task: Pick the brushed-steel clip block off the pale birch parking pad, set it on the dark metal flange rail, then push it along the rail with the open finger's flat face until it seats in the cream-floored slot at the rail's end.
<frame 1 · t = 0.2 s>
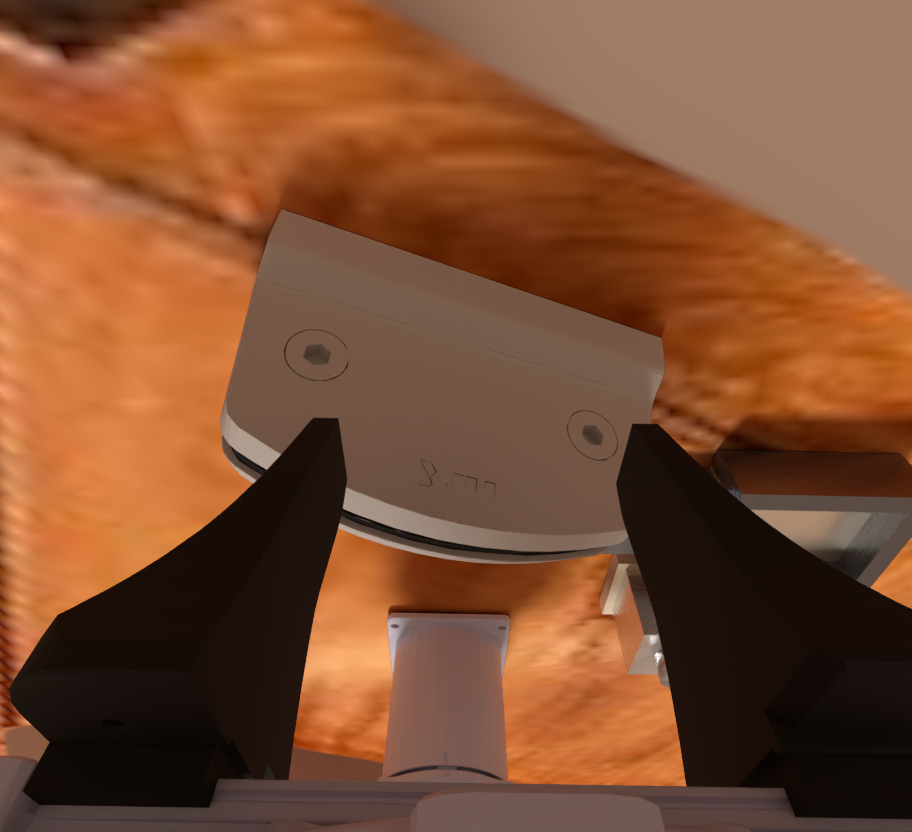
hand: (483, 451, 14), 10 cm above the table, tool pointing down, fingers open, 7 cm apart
clip block: (652, 590, 32), point 1 cm above the table, touching parking pad
flange rail: (676, 502, 29), on the table
parking pad: (647, 576, 33), on the table
grey rounded housing: (453, 353, 24), on the table
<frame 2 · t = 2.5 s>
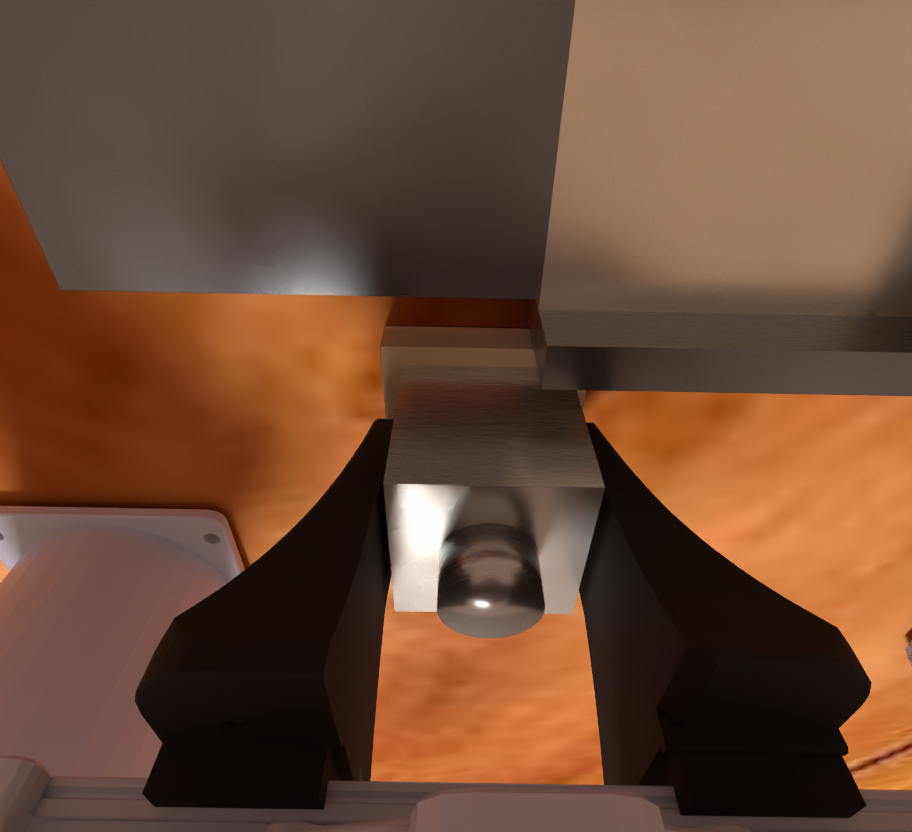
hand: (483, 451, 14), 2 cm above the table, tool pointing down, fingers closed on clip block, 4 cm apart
clip block: (482, 431, 14), point 1 cm above the table, touching gripper, parking pad
flange rail: (495, 151, 11), on the table
parking pad: (481, 408, 15), on the table
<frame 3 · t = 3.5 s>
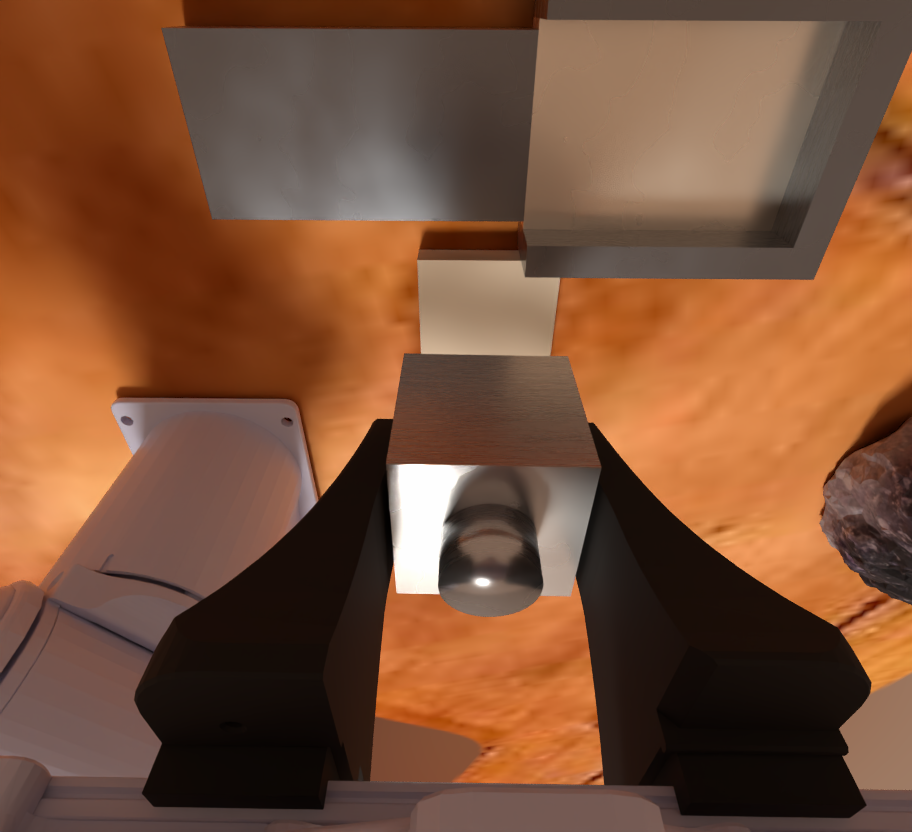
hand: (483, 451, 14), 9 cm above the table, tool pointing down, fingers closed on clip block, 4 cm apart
clip block: (482, 419, 14), point 8 cm above the table, touching gripper
flange rail: (493, 125, 17), on the table
parking pad: (486, 313, 21), on the table
when the fingers open (3 cm above the table, at t = 4.9 s): clip block stays where it is, resting on flange rail.
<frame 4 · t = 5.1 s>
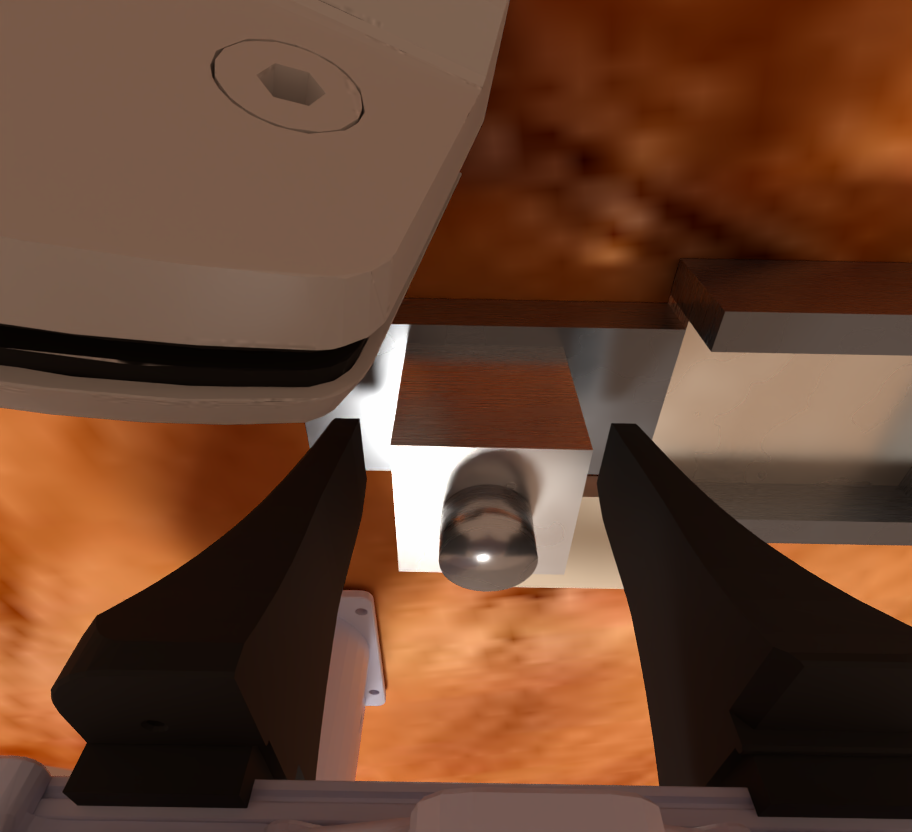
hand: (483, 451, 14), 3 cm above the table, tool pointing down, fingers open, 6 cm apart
clip block: (481, 407, 15), point 1 cm above the table, touching flange rail
flange rail: (613, 379, 16), on the table
parking pad: (579, 524, 20), on the table
grey rounded housing: (87, 9, 11), on the table
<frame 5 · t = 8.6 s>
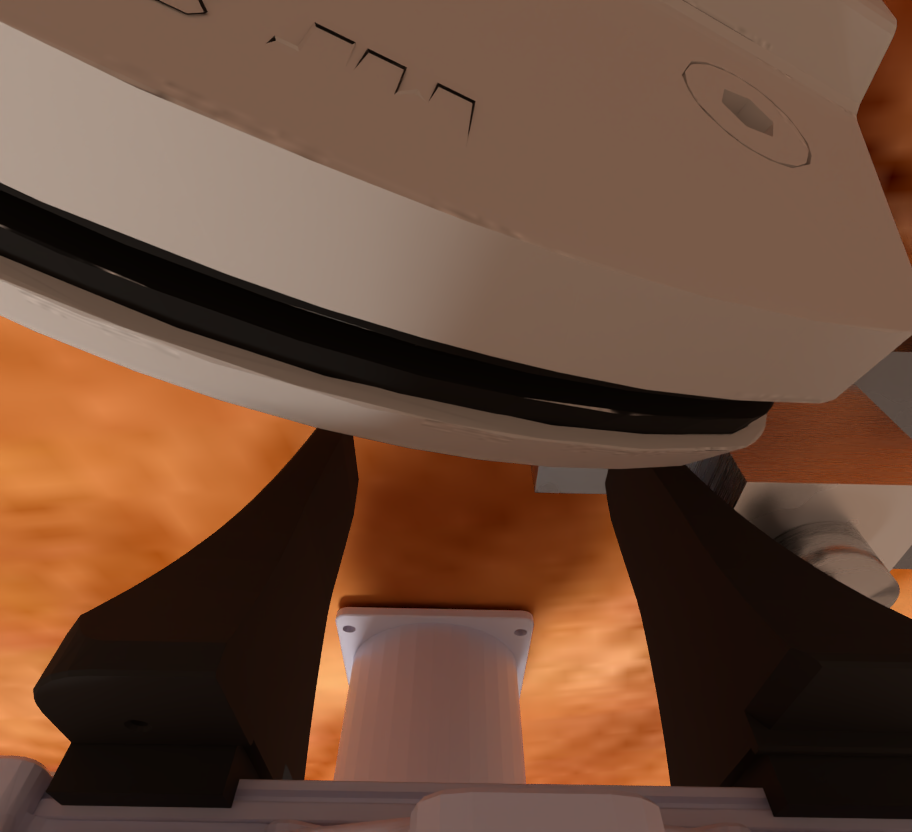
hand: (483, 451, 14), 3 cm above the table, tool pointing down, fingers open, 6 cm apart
clip block: (731, 431, 14), point 2 cm above the table, touching flange rail, gripper
flange rail: (849, 400, 16), on the table
grey rounded housing: (393, 15, 11), on the table
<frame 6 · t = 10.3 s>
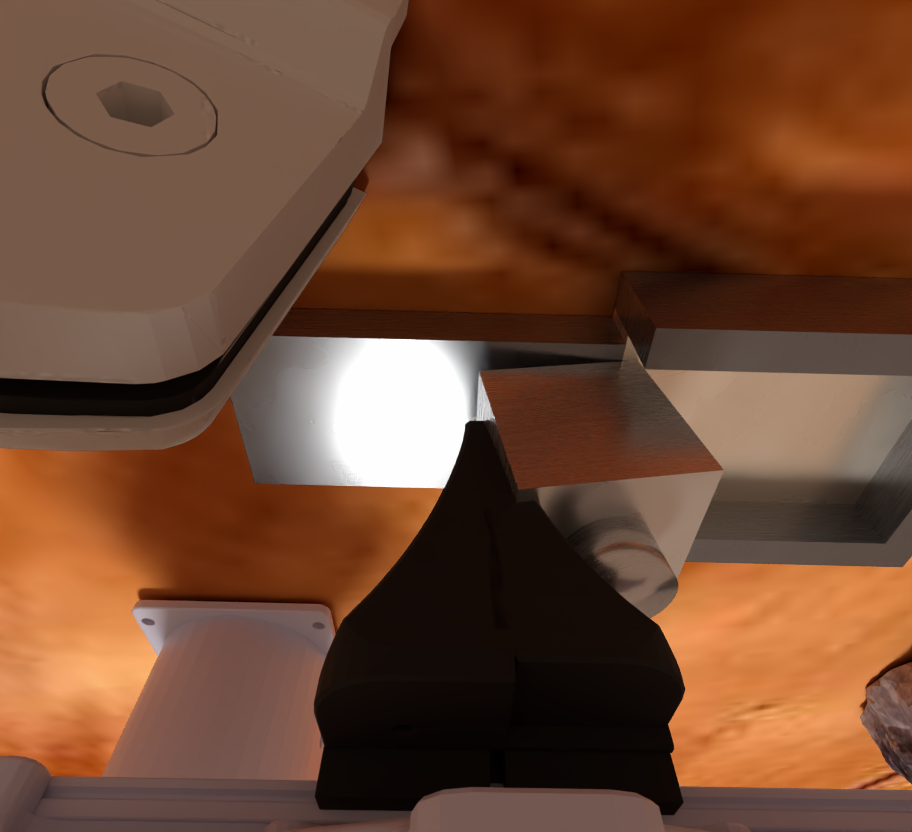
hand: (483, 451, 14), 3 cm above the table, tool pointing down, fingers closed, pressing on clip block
clip block: (549, 429, 14), point 2 cm above the table, tilted 9°, touching flange rail, gripper
flange rail: (561, 393, 16), on the table
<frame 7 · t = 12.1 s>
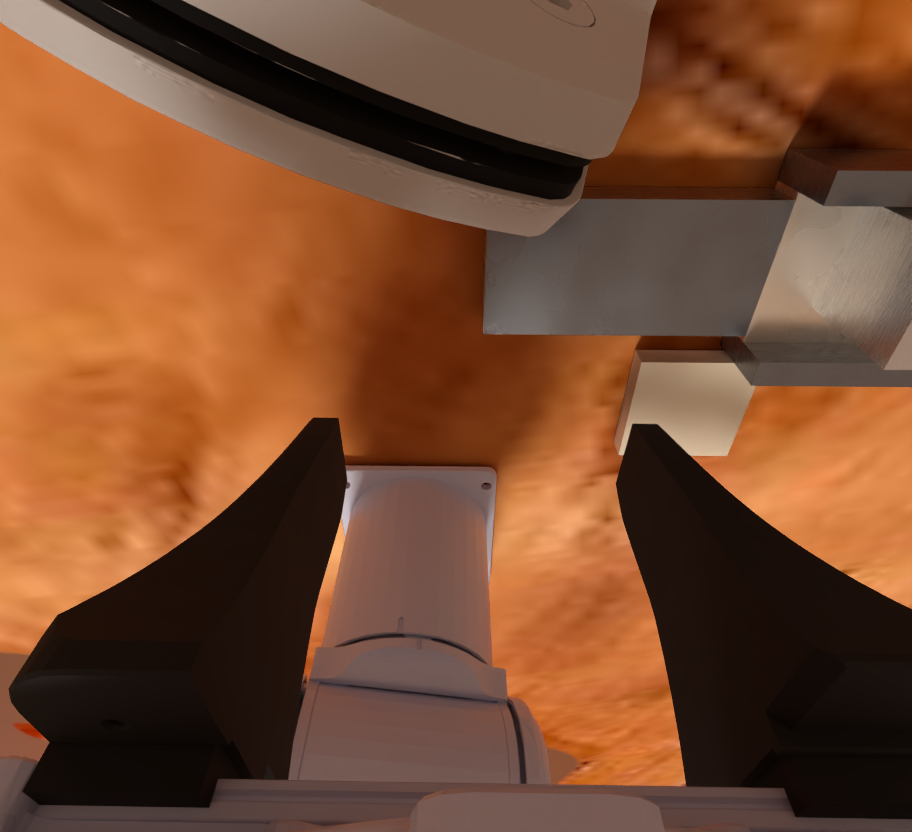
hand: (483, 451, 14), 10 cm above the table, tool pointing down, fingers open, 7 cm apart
clip block: (897, 259, 19), point 1 cm above the table, touching flange rail
flange rail: (723, 257, 20), on the table
parking pad: (679, 398, 24), on the table
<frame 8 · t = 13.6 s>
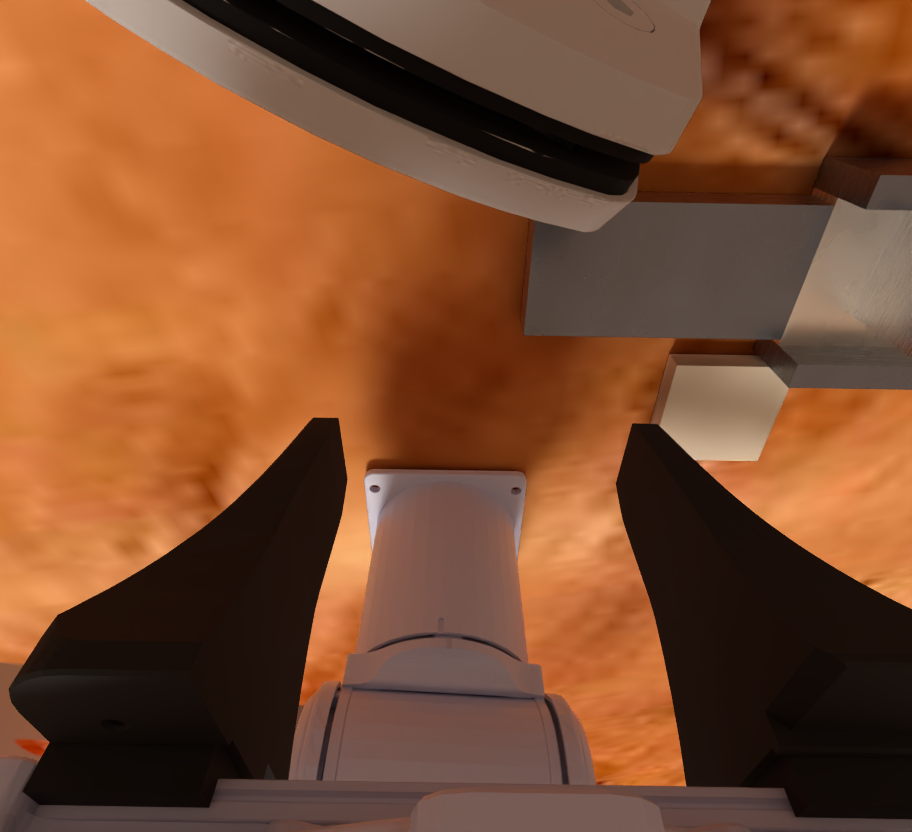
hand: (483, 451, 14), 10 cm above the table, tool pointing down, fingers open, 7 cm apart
flange rail: (759, 262, 21), on the table
parking pad: (710, 403, 25), on the table
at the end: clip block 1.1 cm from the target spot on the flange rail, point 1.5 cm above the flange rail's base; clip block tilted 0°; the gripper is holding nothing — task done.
